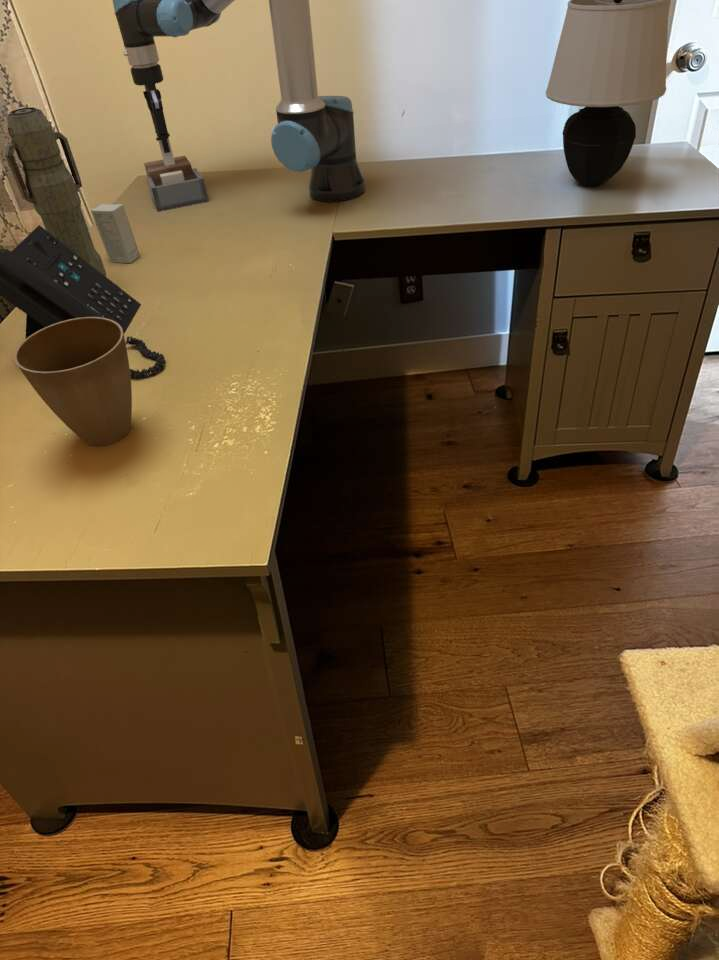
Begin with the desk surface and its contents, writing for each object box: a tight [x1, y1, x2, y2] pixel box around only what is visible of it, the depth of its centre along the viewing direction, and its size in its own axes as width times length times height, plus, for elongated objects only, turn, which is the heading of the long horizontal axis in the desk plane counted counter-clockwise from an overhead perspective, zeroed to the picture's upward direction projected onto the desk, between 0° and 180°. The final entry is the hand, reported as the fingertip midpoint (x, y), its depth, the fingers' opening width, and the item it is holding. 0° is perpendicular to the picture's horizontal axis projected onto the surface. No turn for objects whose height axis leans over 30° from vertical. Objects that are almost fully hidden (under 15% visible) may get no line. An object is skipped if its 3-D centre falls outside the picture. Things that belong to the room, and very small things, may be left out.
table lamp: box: [545, 0, 670, 187], centre depth 156 cm, size 27×27×40 cm
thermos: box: [4, 106, 107, 277], centre depth 133 cm, size 9×12×35 cm
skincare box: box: [90, 203, 141, 264], centre depth 151 cm, size 6×4×12 cm
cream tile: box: [160, 170, 185, 185], centre depth 182 cm, size 6×6×2 cm
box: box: [146, 167, 209, 212], centre depth 182 cm, size 11×14×6 cm
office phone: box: [0, 224, 167, 379], centre depth 119 cm, size 29×28×20 cm
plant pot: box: [13, 317, 133, 447], centre depth 98 cm, size 15×15×16 cm
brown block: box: [143, 155, 194, 187], centre depth 190 cm, size 10×12×7 cm
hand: (169, 164), depth 182 cm, fingers closed
